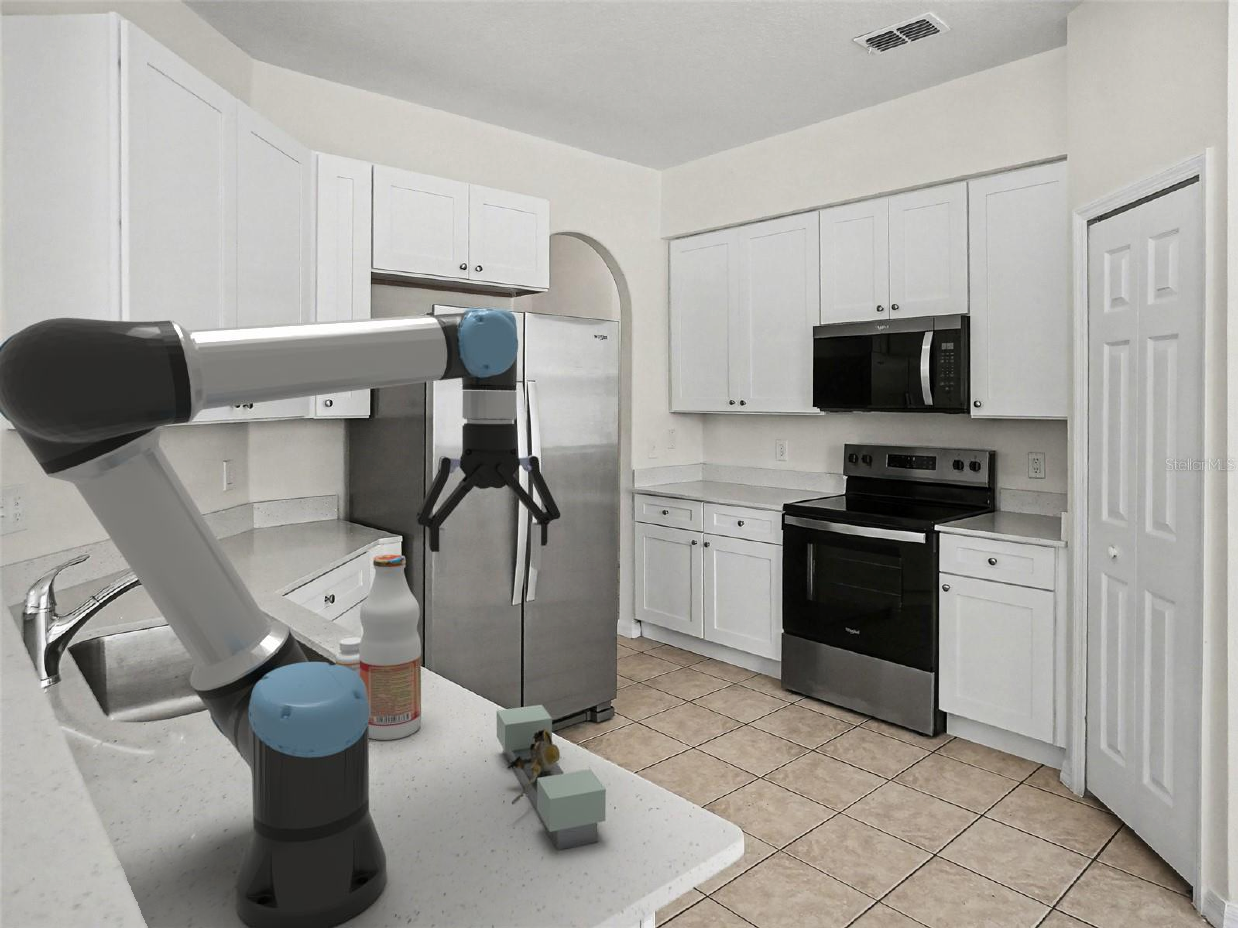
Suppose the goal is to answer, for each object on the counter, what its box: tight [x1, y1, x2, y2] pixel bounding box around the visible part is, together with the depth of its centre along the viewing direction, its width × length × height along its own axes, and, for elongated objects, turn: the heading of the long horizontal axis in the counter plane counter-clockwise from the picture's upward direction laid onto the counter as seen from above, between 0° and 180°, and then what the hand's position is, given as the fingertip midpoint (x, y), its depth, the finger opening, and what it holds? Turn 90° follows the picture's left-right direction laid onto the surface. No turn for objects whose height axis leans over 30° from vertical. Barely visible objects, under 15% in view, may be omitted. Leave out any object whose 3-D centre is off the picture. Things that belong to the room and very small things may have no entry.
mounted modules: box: [496, 704, 607, 832], centre depth 108 cm, size 7×28×4 cm, turn 21°
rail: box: [502, 748, 599, 851], centre depth 108 cm, size 5×28×2 cm, turn 21°
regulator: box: [506, 729, 561, 805], centre depth 107 cm, size 8×4×15 cm
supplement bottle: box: [335, 636, 362, 676], centre depth 142 cm, size 5×5×10 cm
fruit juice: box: [359, 554, 422, 741], centre depth 127 cm, size 9×9×28 cm
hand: (489, 571), depth 113 cm, fingers open, 13 cm apart
